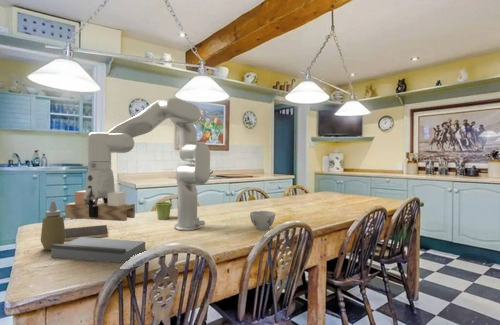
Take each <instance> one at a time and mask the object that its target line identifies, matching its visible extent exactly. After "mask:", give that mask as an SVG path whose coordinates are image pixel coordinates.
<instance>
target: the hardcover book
mask: <svg viewBox="0 0 500 325" xmlns="http://www.w3.org/2000/svg"><path fill="white" fill-rule="evenodd" d="M65 234H66V238H65V241H64V242H69V241H72V240H75V239H77V238H80V237H88V238H105V237H107V236H108V227H107V224H103V225H101V224H100V225H91V226H82V227H81V226H79V227H69V228H65Z"/></svg>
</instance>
